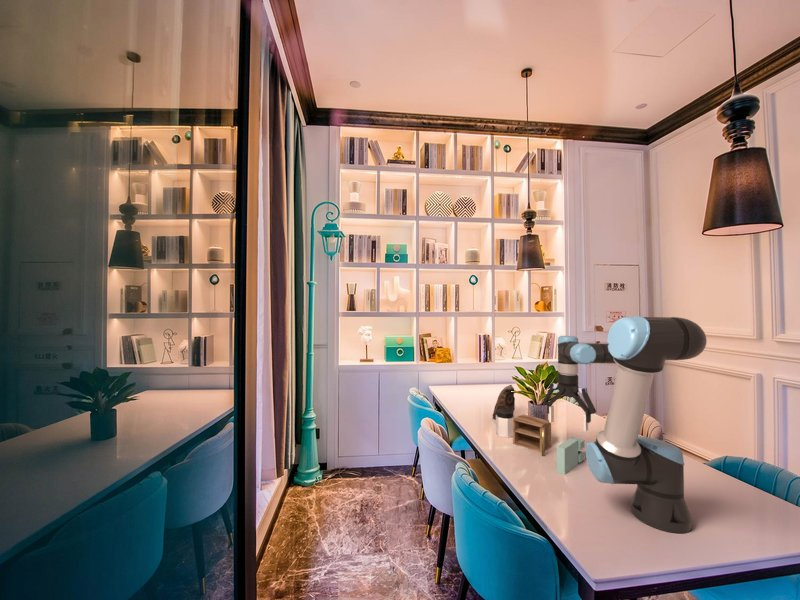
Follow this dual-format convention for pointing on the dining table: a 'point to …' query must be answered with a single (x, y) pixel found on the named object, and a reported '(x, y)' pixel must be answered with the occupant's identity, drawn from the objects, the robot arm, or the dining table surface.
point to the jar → (504, 423)
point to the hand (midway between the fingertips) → (568, 426)
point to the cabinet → (531, 432)
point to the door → (569, 454)
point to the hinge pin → (543, 441)
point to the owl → (505, 400)
